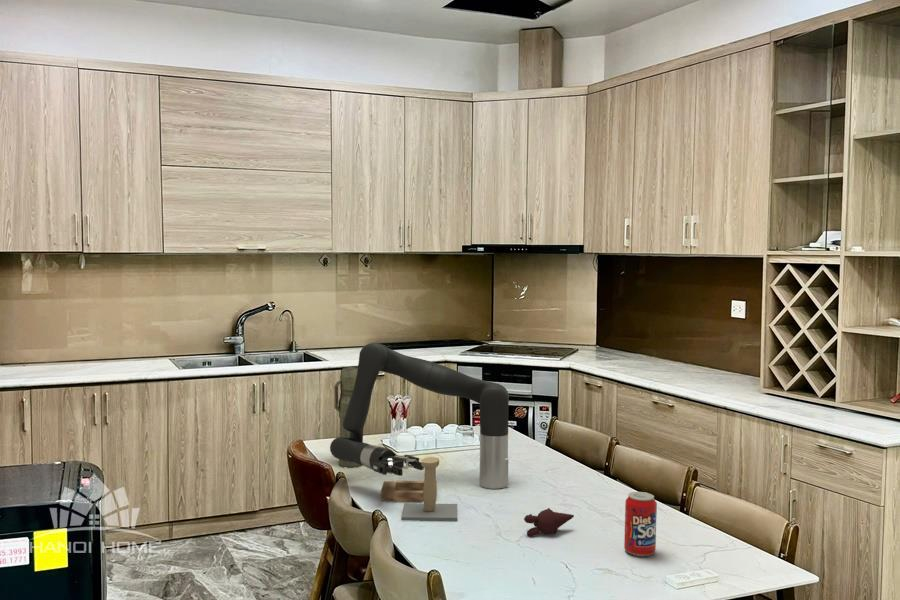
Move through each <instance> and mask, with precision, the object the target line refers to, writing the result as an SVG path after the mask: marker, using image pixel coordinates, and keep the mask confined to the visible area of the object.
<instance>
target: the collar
mask: <svg viewBox="0 0 900 600" xmlns="http://www.w3.org/2000/svg"><path fill="white" fill-rule="evenodd" d="M423 487H424V480H396V481H394V480H392V481H390V480H389V481H386V480H385V481H383V483H382V487H381V490H380V501H381V502H393V503H424V500H423ZM436 489H437V490H438V482H437V481H436ZM437 493H438V492H437ZM437 493H436V496H437Z"/></svg>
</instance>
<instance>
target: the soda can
mask: <svg viewBox="0 0 900 600" xmlns="http://www.w3.org/2000/svg"><path fill="white" fill-rule="evenodd" d="M627 495H628V496H627V498H626V499H625V503H624V507H625V508H624V509H625V510H624V537H623V538H624V539H623V540H624V541H623V542H624V543H623V545H624V546H623V547H624V548H623V549H625V551H626V552H627V553H629V554H630V553H631V554H630V555H632V554H633V555H632V556H635V555H636V557H640V556H645V557H649V556H651V555H653V554H655V553H656V547H657V545H656V544H657V515H658V514H657V511H658V507H657V506H658V504H657V501H656V500H655V495H654V494H651V493H649V492H644V491H632V492H629V493H628V494H627Z"/></svg>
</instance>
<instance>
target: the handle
mask: <svg viewBox="0 0 900 600" xmlns="http://www.w3.org/2000/svg"><path fill="white" fill-rule="evenodd" d="M420 462H421V465H422V466H423V467H424V474H423V475H424V477H423V481H424V487H423V500H424V501H423V503H424V509H425V511H429V512H431V511H434V510H435V504H437V495H436V493H438V491H437V490H438V488H437V489H436V482H437V468H438V467H439V465H440V458H439V457H435V456H427V457H424V458H422V459H421V461H420Z"/></svg>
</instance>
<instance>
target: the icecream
mask: <svg viewBox="0 0 900 600" xmlns="http://www.w3.org/2000/svg"><path fill="white" fill-rule="evenodd" d="M574 517H575V515H574V514H572V513H564V512H557V511H553V509H551V508H550V507H548V508H546V509H544V510H541V511H540V512H539V513H538V514H537V515H533V514H527V515H525V516H524V518H523V520H524V522H525V523H527V524H531V525H533V526H534V527H530V528H529V529H528V530H527V531H526V535H527V536H528V537H530V538H532V537H535V536H537V535H539V533H542V534H546V535H547V534H548V535H550V534H551V535H552V534H557V532H558V530H559V528H561V527H562V526H563V525H565V524H566V523H567V522H570V520H572V519H573V518H574Z"/></svg>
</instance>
